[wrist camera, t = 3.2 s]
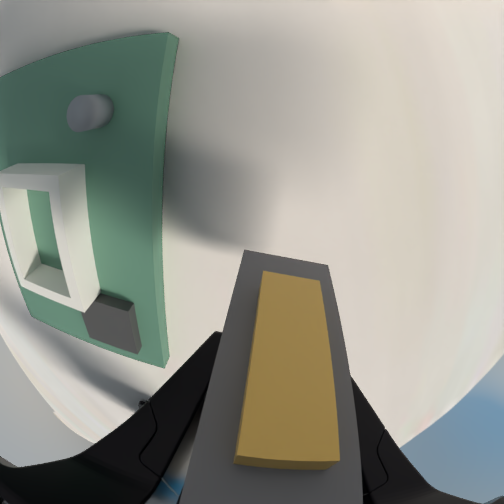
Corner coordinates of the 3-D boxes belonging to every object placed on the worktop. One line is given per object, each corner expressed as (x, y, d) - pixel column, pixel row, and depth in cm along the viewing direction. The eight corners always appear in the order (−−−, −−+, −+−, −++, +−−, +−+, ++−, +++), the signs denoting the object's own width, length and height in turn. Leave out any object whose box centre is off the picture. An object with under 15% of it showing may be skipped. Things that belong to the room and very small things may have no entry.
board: (169, 356, 19) (156, 389, 16) (38, 308, 19) (19, 330, 16) (178, 38, 9) (147, 20, 6) (4, 79, 9) (-29, 84, 6)
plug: (290, 362, 12) (282, 525, 5) (228, 351, 12) (192, 515, 5) (332, 250, 9) (381, 507, 2) (246, 234, 9) (175, 502, 2)
